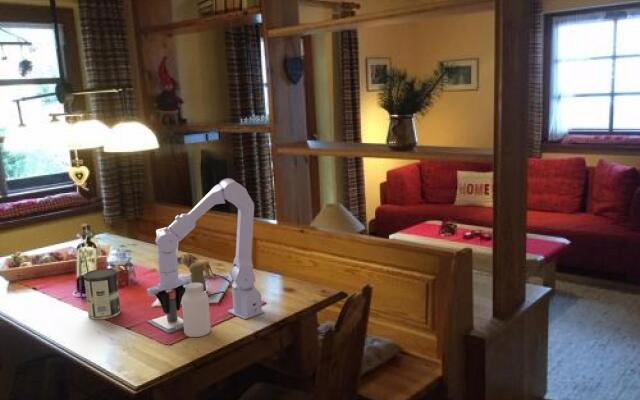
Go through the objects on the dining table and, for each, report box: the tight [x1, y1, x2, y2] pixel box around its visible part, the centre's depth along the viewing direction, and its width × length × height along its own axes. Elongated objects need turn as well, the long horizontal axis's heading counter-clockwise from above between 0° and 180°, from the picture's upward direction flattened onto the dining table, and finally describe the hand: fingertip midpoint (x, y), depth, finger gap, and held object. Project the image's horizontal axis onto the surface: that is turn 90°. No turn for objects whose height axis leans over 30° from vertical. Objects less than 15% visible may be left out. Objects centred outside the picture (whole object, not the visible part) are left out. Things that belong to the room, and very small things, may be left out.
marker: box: [166, 289, 178, 322], centre depth 180 cm, size 3×3×10 cm
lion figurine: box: [180, 252, 218, 278], centre depth 225 cm, size 15×5×9 cm, turn 74°
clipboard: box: [146, 314, 184, 335], centre depth 181 cm, size 13×9×1 cm
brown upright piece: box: [188, 263, 207, 292], centre depth 206 cm, size 6×6×11 cm
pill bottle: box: [181, 283, 212, 338], centre depth 173 cm, size 8×8×15 cm
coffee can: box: [83, 267, 122, 321], centre depth 189 cm, size 10×10×14 cm
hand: (171, 311), depth 180 cm, fingers closed on marker, 3 cm apart
